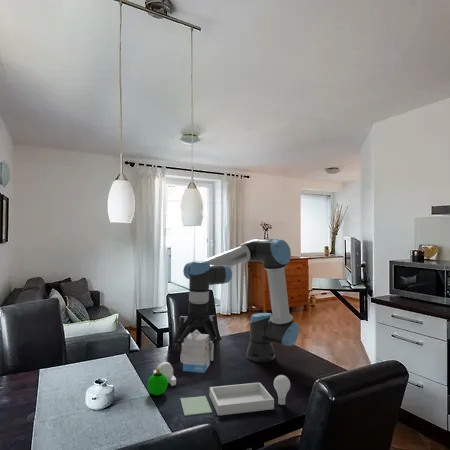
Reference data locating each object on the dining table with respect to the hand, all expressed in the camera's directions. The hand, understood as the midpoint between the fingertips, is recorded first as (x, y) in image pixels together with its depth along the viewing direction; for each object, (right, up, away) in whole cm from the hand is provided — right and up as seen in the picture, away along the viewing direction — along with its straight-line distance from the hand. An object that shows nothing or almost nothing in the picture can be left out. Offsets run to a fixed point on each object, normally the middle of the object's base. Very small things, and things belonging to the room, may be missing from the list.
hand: (196, 360), depth 124 cm
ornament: (-17, -17, +8) cm, 25 cm away
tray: (+17, -18, +3) cm, 24 cm away
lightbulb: (+33, -18, +2) cm, 37 cm away
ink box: (0, -3, 0) cm, 3 cm away
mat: (0, -17, -1) cm, 17 cm away
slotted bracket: (-16, -18, +21) cm, 31 cm away
